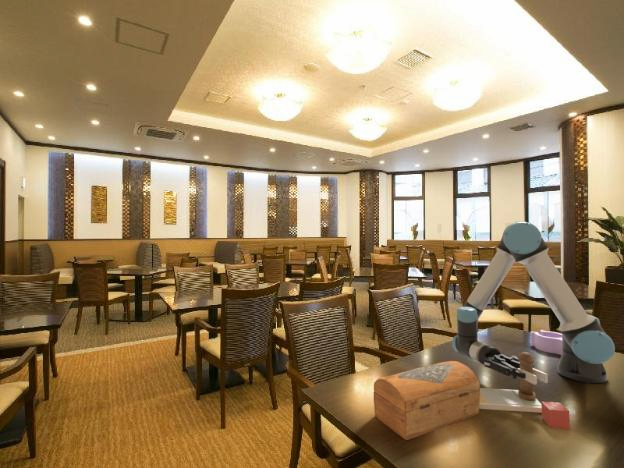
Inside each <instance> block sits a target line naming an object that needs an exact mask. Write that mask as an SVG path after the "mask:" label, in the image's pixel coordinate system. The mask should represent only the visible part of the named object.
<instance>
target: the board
mask: <svg viewBox="0 0 624 468" xmlns="http://www.w3.org/2000/svg"><path fill="white" fill-rule="evenodd" d="M519 390H520V389H505V388H504V389H503V388H487V387H486V388H484V387H480V397H479V398H480V402H479V410H480V409H481V410H493V411H509V412H511V411H512V412H525V413H527V412H528V413H541V414H542V402H540V401H539V400H538V398H536V400H534V401H528V400H524V399H521V398H520V397H519V396H518V391H519Z"/></svg>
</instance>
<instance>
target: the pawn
mask: <svg viewBox="0 0 624 468" xmlns="http://www.w3.org/2000/svg"><path fill="white" fill-rule="evenodd" d="M517 358H518V360H519V362H520V369H522V370H525V371H527V372H529V373H532V374H533V365H534V363H535V357H534V356H533V354H531V353H530V352H527V351H523V352H520V353H519V354H518V356H517ZM519 382H520V383H519V385H520V389H518V390H519V391H518V396H519V397H520V398H521V399H524V400H528V401H534V400H536V399H537V397H536V394H537V393H535V392H534V384H532V383H530V382H528V381H526V380H524V379H522V378H519Z"/></svg>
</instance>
